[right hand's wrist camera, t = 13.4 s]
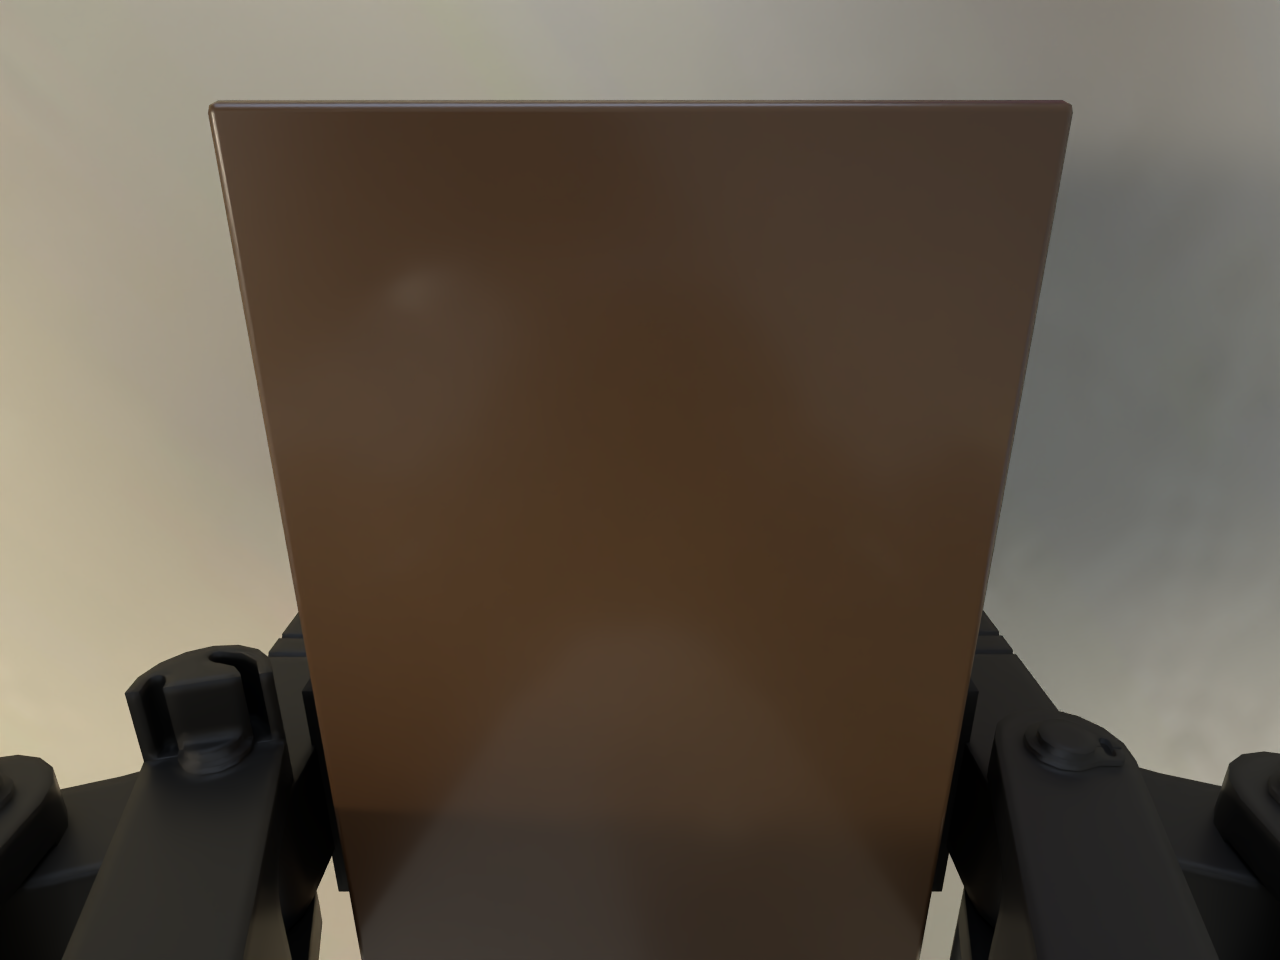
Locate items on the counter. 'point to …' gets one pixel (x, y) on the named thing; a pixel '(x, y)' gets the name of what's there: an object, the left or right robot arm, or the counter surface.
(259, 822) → the right robot arm
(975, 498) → the bar
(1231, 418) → the counter surface
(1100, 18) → the counter surface
